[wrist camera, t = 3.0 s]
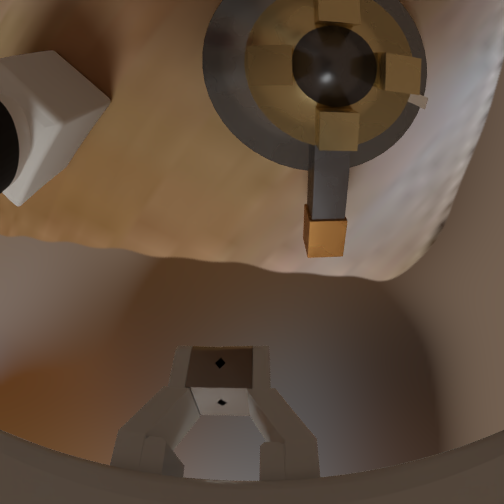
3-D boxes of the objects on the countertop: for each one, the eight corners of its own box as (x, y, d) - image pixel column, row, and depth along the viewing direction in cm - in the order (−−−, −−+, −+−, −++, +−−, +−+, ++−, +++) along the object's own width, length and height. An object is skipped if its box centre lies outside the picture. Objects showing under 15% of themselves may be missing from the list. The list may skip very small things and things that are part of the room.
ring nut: (241, -7, 13) (238, -21, 10) (395, 4, 13) (424, -2, 10) (254, 237, 22) (254, 269, 19) (377, 233, 22) (395, 263, 19)
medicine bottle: (53, 48, 16) (-69, 74, 7) (114, 100, 19) (6, 155, 9) (13, 119, 19) (-91, 180, 9) (66, 168, 22) (-26, 254, 12)
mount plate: (202, -27, 14) (195, -38, 12) (409, -15, 14) (428, -20, 12) (216, 162, 22) (212, 176, 20) (403, 161, 22) (418, 175, 20)
